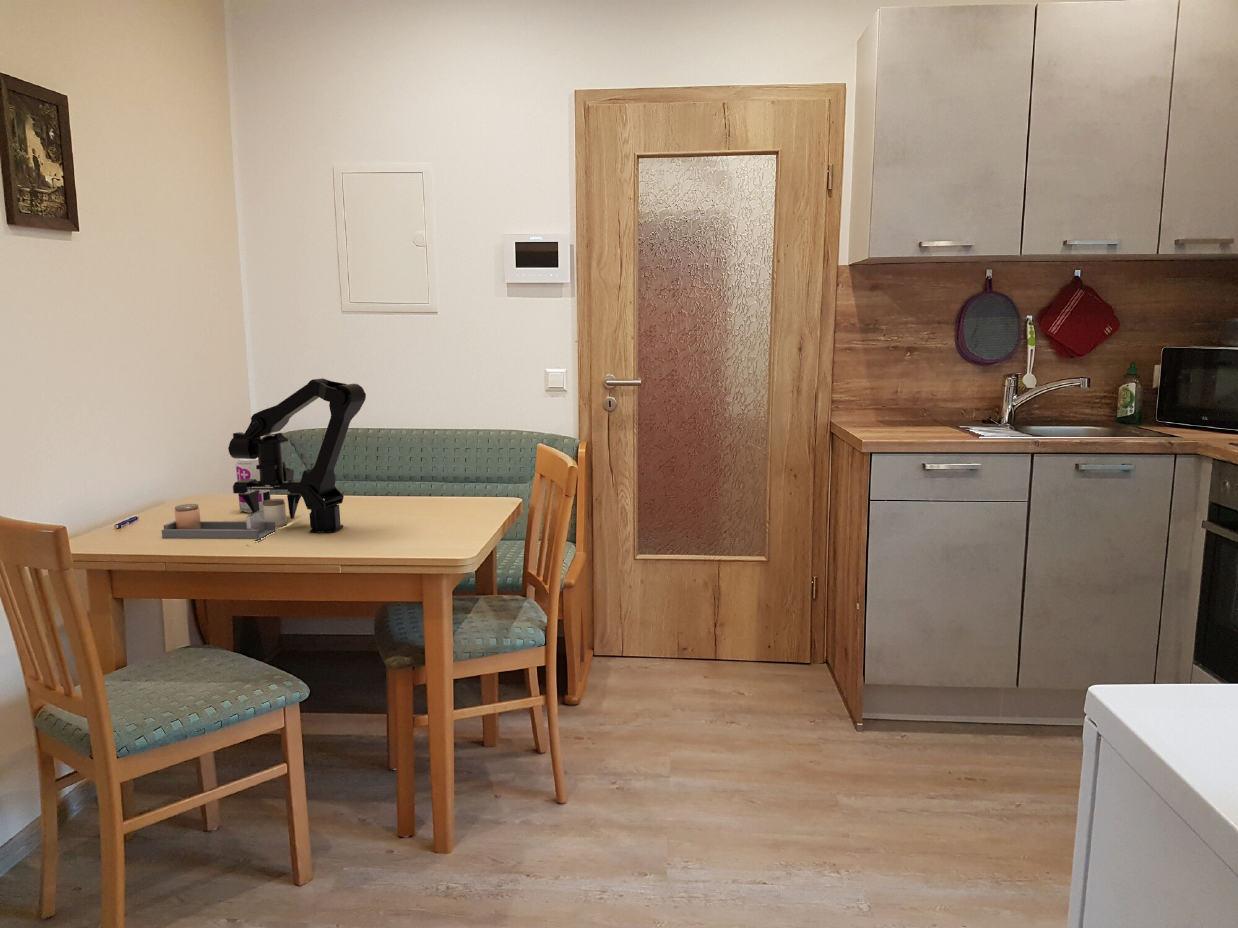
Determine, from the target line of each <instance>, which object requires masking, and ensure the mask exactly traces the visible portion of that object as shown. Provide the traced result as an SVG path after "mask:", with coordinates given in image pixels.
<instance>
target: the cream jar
mask: <svg viewBox="0 0 1238 928" xmlns="http://www.w3.org/2000/svg"><path fill="white" fill-rule="evenodd" d="M262 506H263V511H264V521H275V527H276V526H280V525H281V526H280V527H283V526H286V525H287V526H288V522H287V521H288V520H287V509H286V502H285V499H284V498H271V499H269V500H265V501H263V505H262Z"/></svg>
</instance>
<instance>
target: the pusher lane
mask: <svg viewBox="0 0 1238 928" xmlns="http://www.w3.org/2000/svg"><path fill="white" fill-rule="evenodd" d="M200 521H201V529H176V520H174V521H170V522H169V523H166V524H163V529H162V530H161V538H162V539H180V540H181V539H188V540H189V539H194V540H196V539H197V540H198V539H199V540H201V539H203V540H204V539H207V540H208V539H210V540H212V539H215V540H216V539H217V540H218V539H219V540H220V539H222V540H234V539H235V540H253V541H258V540H261V538H264V537H266V536H267V535H269V534H271V533H273V532H275V531H276V526H275V521H264V522H265V530H263V531H261V532H259V531H258V530H247V521H246V520H244V521H242V520H241V521H240V520H236V521H234V520H228V521H227V520H220V521H219V520H211V521H210V520H200ZM261 541H262V540H261Z"/></svg>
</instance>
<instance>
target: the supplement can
mask: <svg viewBox="0 0 1238 928" xmlns="http://www.w3.org/2000/svg"><path fill="white" fill-rule="evenodd" d="M256 465H259V462H258V458H256V459H237V462H236V464H235V469H236V472H235V473H236V482H237V481H240V480H243V479H256V480H257V481H259V480H260V474H259V469H256ZM266 486H270V485H266ZM237 494H240V493H237ZM269 499H272V497H271V490H259V495H258V501H259V509H260V510H263V506H262V505H263V501H265V500H269ZM238 504H239V510H240V511H241V512H242V511H244V512H252V511H251V509H250V507H249V506H248V504H247V503H246V502H245V501H244V499H243V498H242V497H239V496H238ZM244 512H243V513H244Z"/></svg>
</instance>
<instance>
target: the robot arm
mask: <svg viewBox="0 0 1238 928" xmlns="http://www.w3.org/2000/svg"><path fill="white" fill-rule="evenodd" d="M319 398H320V399H321V400H323V401H325V402H329V404H328V407H329V411H330V419H329V422H328V424H327V428H326V430H325V433H324V437H323V439H322V443H321V445H320V449H319V451H318V454H317V457H316V460H315V464H314V466H313V467H312V468H309V469H308V468H307V469H305V470H303V471H302V475H301V478H296V479H294V477H295V476H294V475H295V469H291V468H289V467H287V466H286V461H283V455H282V443H287V442H289V438H287V437H286V436H284V435H283V434H282V433H281V432H280V431H281V430H282V429H283V428H284V427H285V426H287V424H288V423H289V421H290V419H291V418H292V417H293V416H295V414H297V413H299V412H300V411H302V410H304V408H306V407H308V406H309V405H310V404H311V403H313V402H315V401H316V400H317V399H319ZM366 398H367V394H366V392H365V390H364V388H363V387H362V386H361V385H359V383H350V384H347V383H343V382H337V381H332V380H329V379H326V378H322V377H321V378H315V379H311V380H310V381H308V383H307V384H305V385H303V386H302V387H300V388H299V389H298V390H296V391H295V392H294V393H292V394H291V395H289V396H288V397H286V398H285V399H283V401H281V402H279V403H277V404H275V405H273V406H271V407H268V408H264V409H262V410H260V411H258V412H256V413H253V414H252V416H251V417H250V423H249V425H248V427H247V428H246V430H245V431H244V432H240V431H238V432H234V433H232V438H231V440H230V442H229V445H228V448H227V449H228V454H229V455H230V457H231V458H232V459H237V460H238V459H256V458H258V462H259V465H256V469H259V474H260V480H259V481H257V480H256V479H243V480H240V481H237V480H236V481H234V483H233V485H232V492H233V494H238V493H240V494H238V496H237V497H238V498H239V497H242V498H243V499H244V501H245V502H246V503H247V504H248V506H249V507H250V509H251V511H252V512H253V513H255V512H257V511H259V510H260V509H259V501H258V495H259V490H270V491H273V490H274V491H276V490H279V491H280V490H283V491H285V490H287V491H288V494H286V497H287V504H288V512H289V517H290V519H291V520H293V519H295V516H296V511H297V508H298V504H299V502H300V500H301V498H302V499H303V502H304V505H305V506H306V510H310V512H309V513H308V514H309V525H310V529H309V533H336V532H337V531H339V530H340V529H342V528H343V527H344V524H341V512H340V504H343V501H344V495H343V493H342V492H341V491H340V490H339V489H338V488H337V487H336V486H335V485H336V481H337V480H336V475H335V468H336V466H337V462H338V460H339V456H340V454H341V450H342V447H343V445H344V442H345V438H346V437H347V433H348V430H349V426H350V424H351V422H352V420H353V418H354V417H355V416H356V415H357V414H358V413H359V411H360V410H361V408H362V407H363V405H364V403H365V401H366ZM274 433H275V434H274ZM271 434H274V435H271ZM261 437H263V438H261ZM266 485H269V486H266ZM253 513H252V514H253Z"/></svg>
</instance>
